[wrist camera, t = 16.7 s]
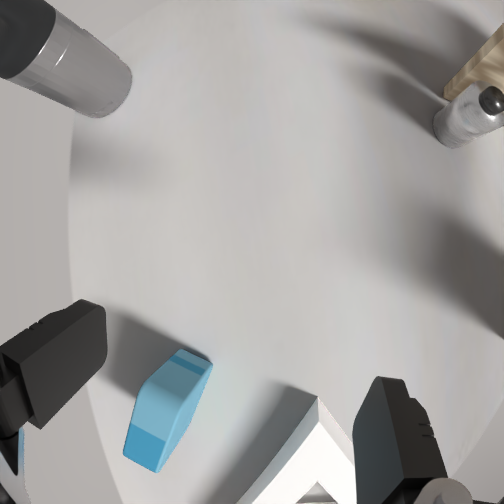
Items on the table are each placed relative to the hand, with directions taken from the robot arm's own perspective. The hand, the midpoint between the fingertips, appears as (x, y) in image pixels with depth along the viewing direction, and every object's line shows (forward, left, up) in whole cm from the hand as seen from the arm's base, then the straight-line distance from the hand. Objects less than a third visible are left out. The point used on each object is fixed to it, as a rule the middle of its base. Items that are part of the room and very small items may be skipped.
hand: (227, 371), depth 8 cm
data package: (+12, -17, -28) cm, 35 cm away
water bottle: (-10, +24, -28) cm, 38 cm away
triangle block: (+30, -3, -29) cm, 41 cm away
